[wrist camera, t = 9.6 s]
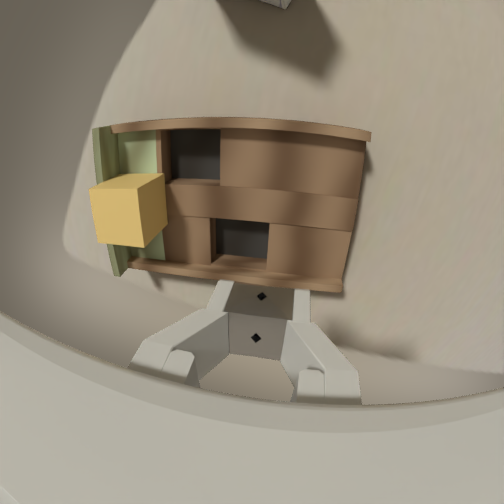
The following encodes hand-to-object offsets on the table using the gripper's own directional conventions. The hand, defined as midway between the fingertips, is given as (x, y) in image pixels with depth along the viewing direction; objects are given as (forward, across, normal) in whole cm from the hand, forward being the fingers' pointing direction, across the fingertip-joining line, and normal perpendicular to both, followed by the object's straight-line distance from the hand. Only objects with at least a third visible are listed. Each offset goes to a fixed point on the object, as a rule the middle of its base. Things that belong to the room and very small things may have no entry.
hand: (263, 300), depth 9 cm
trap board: (+18, +5, +2) cm, 18 cm away
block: (+15, +13, +2) cm, 20 cm away
